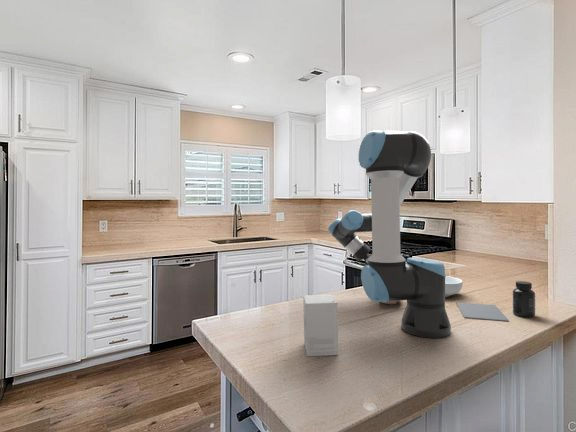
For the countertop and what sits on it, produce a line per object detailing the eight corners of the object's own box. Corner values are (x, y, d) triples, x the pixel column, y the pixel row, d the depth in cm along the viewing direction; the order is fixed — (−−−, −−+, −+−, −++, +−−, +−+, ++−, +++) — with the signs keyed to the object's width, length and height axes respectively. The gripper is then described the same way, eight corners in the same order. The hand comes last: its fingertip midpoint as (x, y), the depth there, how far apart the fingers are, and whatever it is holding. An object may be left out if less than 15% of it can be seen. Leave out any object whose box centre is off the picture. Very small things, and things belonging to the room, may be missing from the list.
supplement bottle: (530, 312, 126) (531, 280, 126) (538, 318, 120) (539, 285, 119) (509, 311, 128) (509, 279, 128) (516, 317, 122) (516, 284, 121)
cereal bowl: (451, 302, 141) (451, 285, 141) (414, 294, 154) (414, 278, 153) (469, 294, 152) (469, 278, 151) (433, 287, 165) (433, 273, 164)
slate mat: (509, 321, 118) (509, 320, 118) (464, 317, 122) (464, 316, 122) (495, 306, 135) (495, 305, 135) (456, 303, 139) (456, 302, 139)
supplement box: (333, 342, 103) (332, 293, 103) (338, 355, 94) (338, 302, 94) (303, 343, 103) (302, 294, 102) (306, 356, 94) (305, 303, 93)
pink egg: (397, 304, 139) (397, 297, 138) (381, 303, 140) (381, 296, 140) (397, 300, 144) (397, 293, 144) (382, 299, 146) (382, 292, 146)
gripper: (361, 245, 134) (404, 287, 129) (366, 240, 155) (403, 276, 151) (348, 258, 136) (390, 300, 131) (355, 251, 157) (391, 287, 152)
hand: (397, 287), depth 141 cm, fingers closed on walnut cover, 10 cm apart
